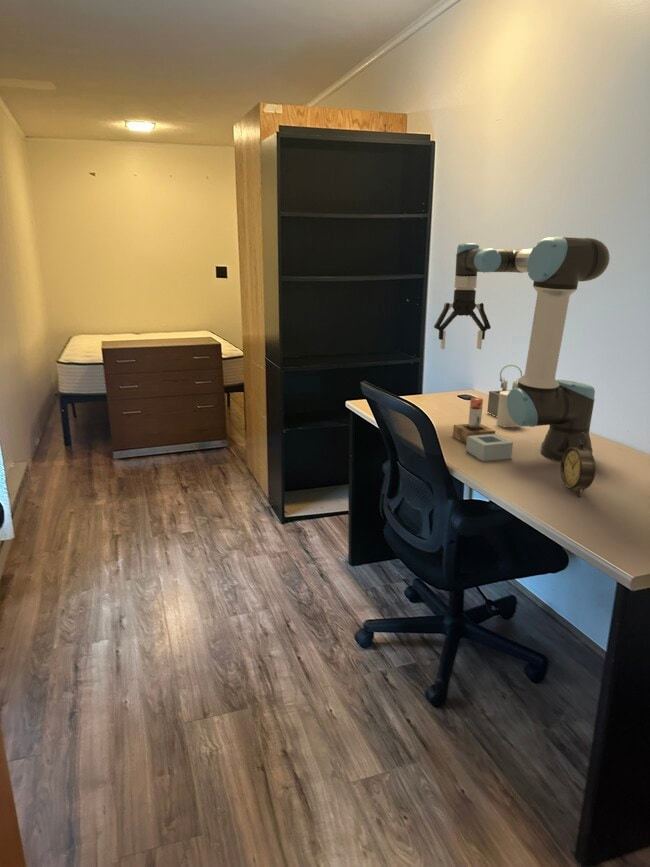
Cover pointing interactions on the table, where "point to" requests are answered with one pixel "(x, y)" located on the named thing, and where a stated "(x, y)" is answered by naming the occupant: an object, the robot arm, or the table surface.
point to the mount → (463, 431)
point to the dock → (489, 447)
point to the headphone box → (493, 402)
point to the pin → (475, 414)
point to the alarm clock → (578, 467)
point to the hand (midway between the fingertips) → (460, 348)
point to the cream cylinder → (504, 411)
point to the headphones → (504, 383)
